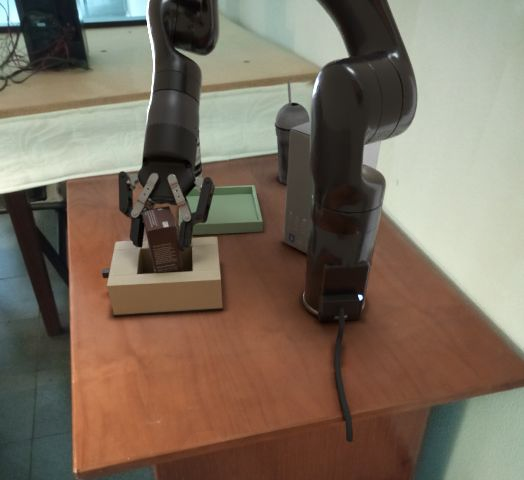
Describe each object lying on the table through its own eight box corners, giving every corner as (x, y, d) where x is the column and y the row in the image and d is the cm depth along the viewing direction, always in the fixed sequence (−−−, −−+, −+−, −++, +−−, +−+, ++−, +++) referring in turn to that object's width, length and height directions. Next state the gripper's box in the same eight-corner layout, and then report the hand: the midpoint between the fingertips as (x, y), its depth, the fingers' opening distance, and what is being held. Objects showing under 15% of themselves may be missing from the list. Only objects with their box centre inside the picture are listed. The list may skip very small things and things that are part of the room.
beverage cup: (303, 188, 105) (311, 85, 91) (270, 185, 106) (272, 82, 92) (308, 174, 110) (316, 74, 96) (276, 171, 111) (279, 72, 97)
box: (152, 278, 79) (140, 209, 71) (180, 273, 80) (172, 205, 72) (158, 300, 75) (146, 229, 67) (187, 295, 76) (179, 224, 68)
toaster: (223, 309, 74) (221, 279, 70) (103, 317, 73) (94, 286, 69) (219, 265, 83) (217, 236, 79) (112, 270, 82) (105, 241, 78)
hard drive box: (314, 259, 85) (326, 141, 71) (281, 243, 88) (286, 127, 75) (367, 227, 93) (386, 115, 79) (335, 213, 97) (348, 104, 83)
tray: (262, 231, 91) (262, 221, 90) (179, 235, 90) (178, 225, 89) (254, 194, 102) (254, 185, 101) (180, 197, 101) (179, 188, 100)
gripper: (114, 118, 68) (101, 237, 68) (216, 123, 67) (203, 245, 67) (133, 142, 76) (121, 250, 75) (225, 148, 75) (213, 258, 74)
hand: (160, 247), depth 71 cm, fingers closed on box, 6 cm apart
